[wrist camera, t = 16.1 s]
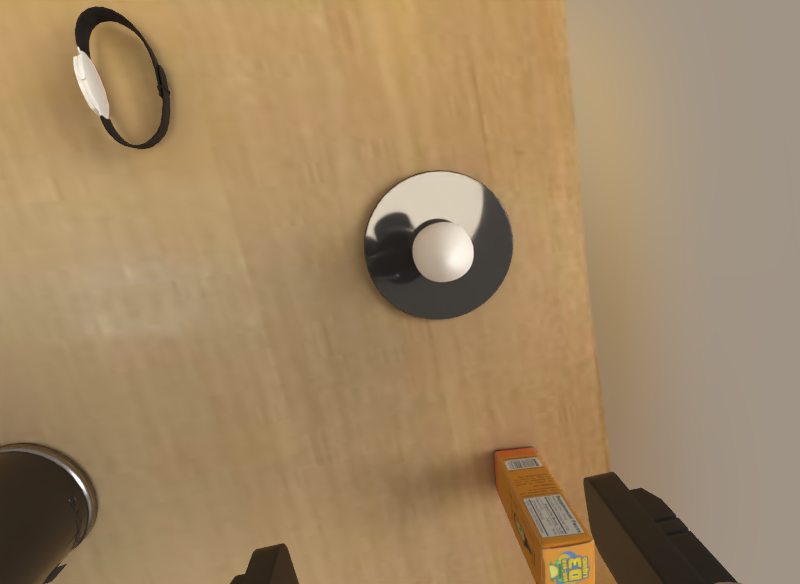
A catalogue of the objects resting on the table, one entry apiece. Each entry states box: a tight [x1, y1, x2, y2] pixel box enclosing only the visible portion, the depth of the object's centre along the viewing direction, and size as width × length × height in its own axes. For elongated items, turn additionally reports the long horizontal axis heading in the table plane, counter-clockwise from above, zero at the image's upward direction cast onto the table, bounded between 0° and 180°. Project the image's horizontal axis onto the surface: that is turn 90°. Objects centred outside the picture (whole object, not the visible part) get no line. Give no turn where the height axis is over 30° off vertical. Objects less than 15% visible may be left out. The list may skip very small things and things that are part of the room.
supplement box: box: [494, 447, 595, 584], centre depth 30 cm, size 3×3×10 cm
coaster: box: [364, 170, 513, 319], centre depth 31 cm, size 10×10×1 cm
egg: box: [412, 222, 474, 282], centre depth 28 cm, size 4×4×6 cm
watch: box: [73, 7, 170, 149], centre depth 27 cm, size 8×5×4 cm, turn 11°
